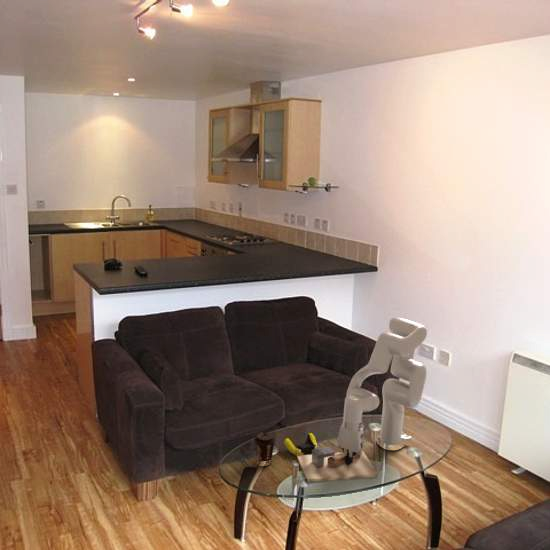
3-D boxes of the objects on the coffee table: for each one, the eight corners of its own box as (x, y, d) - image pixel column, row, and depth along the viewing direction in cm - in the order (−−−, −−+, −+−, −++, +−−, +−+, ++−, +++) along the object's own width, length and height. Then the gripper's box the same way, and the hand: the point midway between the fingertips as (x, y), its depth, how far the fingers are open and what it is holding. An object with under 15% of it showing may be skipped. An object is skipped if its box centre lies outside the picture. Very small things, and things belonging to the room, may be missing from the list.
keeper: (328, 458, 262) (329, 446, 260) (333, 464, 257) (334, 452, 256) (311, 462, 258) (312, 449, 257) (316, 468, 254) (317, 455, 252)
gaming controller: (282, 448, 270) (292, 460, 262) (282, 437, 269) (293, 448, 260) (311, 442, 277) (322, 453, 268) (312, 431, 275) (323, 441, 267)
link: (355, 452, 267) (356, 446, 266) (362, 456, 263) (363, 450, 263) (324, 463, 257) (325, 457, 256) (331, 468, 253) (332, 462, 253)
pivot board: (363, 453, 269) (364, 440, 267) (377, 476, 252) (378, 462, 250) (297, 458, 263) (297, 444, 261) (307, 482, 246) (308, 467, 244)
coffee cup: (262, 455, 264) (263, 428, 261) (277, 462, 260) (279, 434, 256) (249, 463, 257) (250, 436, 254) (265, 470, 253) (267, 442, 249)
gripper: (372, 425, 252) (368, 465, 256) (339, 415, 259) (336, 453, 264) (364, 433, 245) (360, 473, 250) (331, 422, 253) (328, 461, 258)
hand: (348, 463), depth 257 cm, fingers closed
